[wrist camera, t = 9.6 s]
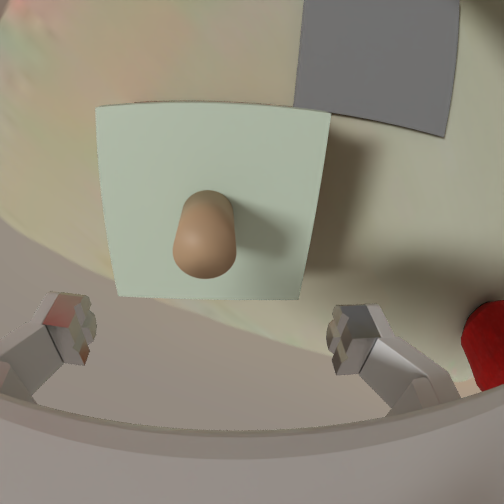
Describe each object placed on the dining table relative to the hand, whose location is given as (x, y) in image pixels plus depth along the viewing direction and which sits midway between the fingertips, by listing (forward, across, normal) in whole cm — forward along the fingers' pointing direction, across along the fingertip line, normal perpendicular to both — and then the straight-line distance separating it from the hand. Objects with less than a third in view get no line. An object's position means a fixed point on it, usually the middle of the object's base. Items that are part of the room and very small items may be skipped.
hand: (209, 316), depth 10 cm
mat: (+15, -11, -12) cm, 22 cm away
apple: (+16, -35, +16) cm, 42 cm away
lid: (+9, 0, 0) cm, 9 cm away
